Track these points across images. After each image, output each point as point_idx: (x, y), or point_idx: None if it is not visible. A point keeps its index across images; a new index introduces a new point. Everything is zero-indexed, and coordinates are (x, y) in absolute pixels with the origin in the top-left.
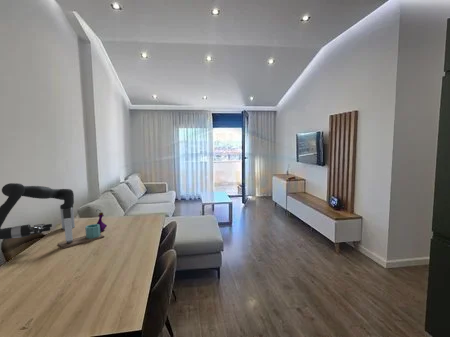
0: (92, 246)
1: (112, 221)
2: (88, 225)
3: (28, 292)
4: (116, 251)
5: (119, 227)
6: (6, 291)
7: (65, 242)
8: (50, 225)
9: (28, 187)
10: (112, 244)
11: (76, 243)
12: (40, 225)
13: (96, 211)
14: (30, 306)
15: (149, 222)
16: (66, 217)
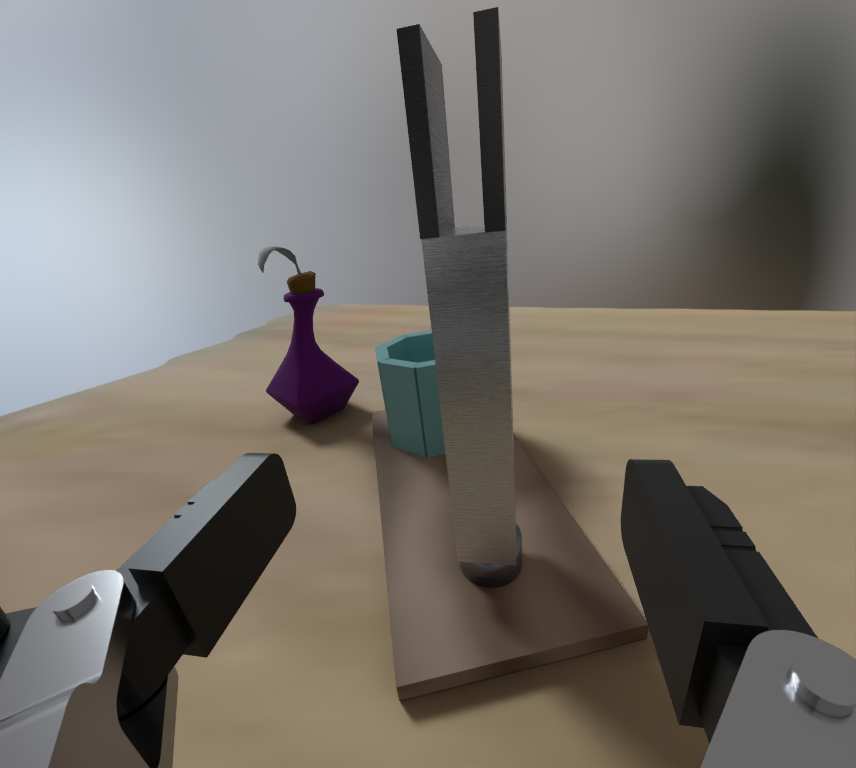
0: (661, 443)
1: (207, 378)
2: (386, 359)
3: None
4: (809, 371)
5: (356, 364)
6: None
7: (445, 597)
8: (270, 498)
9: None
10: (659, 380)
11: (558, 511)
12: (67, 761)
13: (263, 270)
14: None
15: (396, 317)
16: (505, 207)
